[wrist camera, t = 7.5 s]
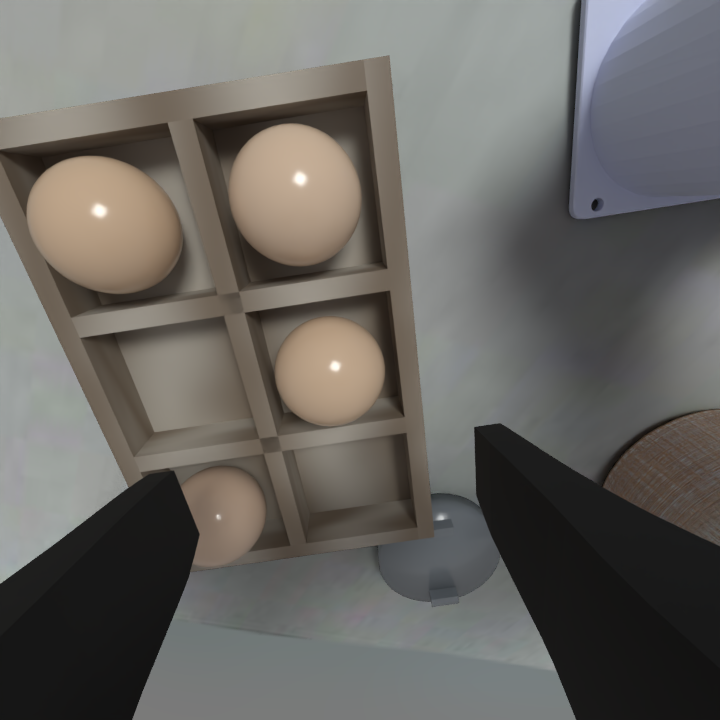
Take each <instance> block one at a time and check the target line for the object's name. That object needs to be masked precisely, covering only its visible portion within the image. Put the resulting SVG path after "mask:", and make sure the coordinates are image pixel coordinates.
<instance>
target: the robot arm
mask: <svg viewBox="0 0 720 720" xmlns="http://www.w3.org/2000/svg"><path fill="white" fill-rule="evenodd" d="M718 198H720V0H582V1H581V18H580V34H579V51H578V67H577V84H576V100H575V117H574V133H573V150H572V166H571V183H570V199H569V213H570V215H571V216H572V217H573V218H575V219H589V218H595V217H602V216H608V215H615V214H621V213H628V212H634V211H641V210H647V209H654V208H660V207H667V206H673V205H679V204H686V203H692V202H699V201H705V200H712V199H718ZM595 199H596V200H597V201H598V205H597V208H596V209H595V210H594V211H593V210H592V208H591V204H592V202H593V201H594V200H595ZM474 433H475V465H476V495H477V498H478V501H479V504H480V507H481V510H482V512H483V515H484V518H485V521H486V523H487V526H488V529H489V531H490V534H491V537H492V539H493V541H494V543H495V545H496V547H497V549H498V551H499V553H500V555H501V557H502V559H503V561H504V563H505V565H506V567H507V569H508V571H509V573H510V575H511V577H512V579H513V581H514V583H515V585H516V587H517V589H518V591H519V593H520V595H521V597H522V599H523V601H524V603H525V605H526V607H527V609H528V611H529V613H530V615H531V617H532V619H533V621H534V623H535V625H536V627H537V629H538V631H539V633H540V635H541V637H542V639H543V641H544V644H545V646H546V648H547V650H548V652H549V654H550V657H551V659H552V661H553V663H554V666H555V668H556V671H557V673H558V675H559V678H560V680H561V683H562V685H563V688H564V690H565V693H566V695H567V698H568V700H569V703H570V705H571V708H572V710H573V713H574V715H575V718H576V720H720V546H719V545H717V544H714V543H712V542H710V541H708V540H705V539H703V538H701V537H699V536H697V535H695V534H693V533H691V532H689V531H686V530H684V529H682V528H680V527H678V526H676V525H674V524H672V523H670V522H668V521H666V520H664V519H662V518H659V517H657V516H655V515H653V514H651V513H649V512H648V511H646V510H644V509H642V508H640V507H638V506H636V505H634V504H632V503H630V502H629V501H627V500H625V499H623V498H621V497H620V496H618V495H616V494H614V493H612V492H610V491H609V490H607V489H605V488H603V487H601V486H600V485H598V484H596V483H594V482H593V481H591V480H589V479H588V478H586V477H584V476H583V475H581V474H579V473H578V472H576V471H574V470H573V469H571V468H569V467H568V466H566V465H565V464H563V463H561V462H560V461H558V460H556V459H555V458H553V457H552V456H550V455H549V454H547V453H545V452H544V451H542V450H541V449H539V448H538V447H536V446H535V445H533V444H532V443H530V442H529V441H527V440H526V439H524V438H522V437H521V436H519V435H518V434H516V433H515V432H513V431H512V430H510V429H509V428H507V427H505V426H504V425H502V424H500V423H499V424H492V425H485V426H478V427H474ZM199 536H200V533H199V531H198V528H197V526H196V523H195V521H194V519H193V516H192V514H191V511H190V509H189V506H188V504H187V501H186V499H185V496H184V494H183V491H182V489H181V486H180V484H179V481H178V479H177V476H176V474H175V472H174V470H173V471H166V472H159V473H152V474H148V475H147V476H145V477H144V478H142V479H141V480H139V481H138V482H136V483H135V484H133V485H132V486H131V487H129V488H128V489H126V490H125V491H124V492H122V493H121V494H120V495H118V496H117V497H116V498H114V499H113V500H112V501H110V502H109V503H108V504H107V505H105V506H104V507H103V508H101V509H100V510H99V511H97V512H96V513H95V514H94V515H92V516H91V517H90V518H88V519H87V520H86V521H84V522H83V523H82V524H80V525H79V526H78V527H77V528H75V529H74V530H73V531H71V532H70V533H69V534H67V535H66V536H65V537H64V538H62V539H61V540H60V541H58V542H57V543H56V544H54V545H53V546H52V547H50V548H49V549H48V550H46V551H45V552H43V553H42V554H41V555H39V556H38V557H37V558H35V559H34V560H32V561H31V562H30V563H28V564H27V565H26V566H24V567H23V568H21V569H20V570H19V571H17V572H16V573H15V574H13V575H12V576H11V577H9V578H8V579H6V580H5V581H4V582H2V583H1V584H0V720H132V718H133V716H134V713H135V710H136V708H137V705H138V702H139V700H140V697H141V694H142V691H143V689H144V686H145V684H146V682H147V679H148V677H149V674H150V672H151V669H152V667H153V665H154V662H155V659H156V657H157V655H158V652H159V650H160V647H161V645H162V642H163V640H164V637H165V635H166V633H167V630H168V628H169V625H170V623H171V621H172V618H173V616H174V613H175V611H176V608H177V606H178V603H179V601H180V598H181V596H182V593H183V591H184V588H185V585H186V583H187V580H188V577H189V574H190V570H191V567H192V563H193V560H194V556H195V552H196V548H197V544H198V540H199Z"/></svg>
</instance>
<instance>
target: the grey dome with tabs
mask: <svg viewBox="0 0 720 720" xmlns="http://www.w3.org/2000/svg"><path fill="white" fill-rule="evenodd" d="M431 505H432V516H433V526H434V537H432V538H425V539H418V540H411V541H404V542H397V543H390V544H383V545H377V548H378V557H379V567H380V572H381V575H382V577H383V579H384V580H385V582H386V583H387V585H388V586H389V587H390V588H391V589H393V590H394V591H395V592H397V593H399V594H400V595H402V596H405V597H407V598H410V599H413V600H418V601H426V602H431V605H432V607H435V606H442V605H449V604H456V603H459V598H458V597H461V596H464V595H466V594H468V593H470V592H472V591H474V590H475V589H477V588H478V587H480V586H481V585H482V584H483V583H485V582H486V581H487V580H488V579H489V577H490V576H491V575H492V574H493V572H494V570H495V569H496V567H497V564H498V561H499V558H500V553H499V551H498V549H497V547H496V545H495V543H494V541H493V539H492V537H491V534H490V531H489V529H488V526H487V523H486V521H485V518H484V515H483V512H482V510H481V508H480V507H479V506H478V505H476V504H475V503H474V502H472V501H470V500H468V499H466V498H464V497H461V496H457V495H452V494H431Z"/></svg>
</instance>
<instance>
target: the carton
mask: <svg viewBox="0 0 720 720" xmlns="http://www.w3.org/2000/svg"><path fill="white" fill-rule="evenodd" d="M288 123H294V124H303V125H307V126H311V127H313V128H316V129H318V130H320V131H322V132H324V133H326V134H327V135H329V136H330V137H331V138H333V139H334V140H335V141H336V142H337V143H338V144H339V145H340V146H341V147H342V148H343V149H344V150H345V152H346V153H347V154H348V156H349V158H350V159H351V161H352V163H353V165H354V167H355V169H356V171H357V174H358V177H359V181H360V186H361V194H362V206H361V213H360V218H359V221H358V224H357V227H356V229H355V231H354V233H353V235H352V237H351V238H350V240H349V241H348V242H347V244H346V245H345V246H344V247H343V248H342V249H341V250H340V251H339V252H338V253H337V254H335V255H334V256H333V257H331V258H329V259H327V260H326V261H323V262H321V263H318V264H315V265H310V266H289V265H284V264H281V263H278V262H275V261H273V260H271V259H269V258H267V257H265V256H264V255H262V254H261V253H259V252H258V251H257V250H256V249H254V248H253V247H252V246H251V245H250V244H249V243H248V242H247V240H246V239H245V238H244V236H243V235H242V234H241V232H240V230H239V229H238V227H237V225H236V223H235V220H234V218H233V215H232V212H231V208H230V203H229V193H228V188H229V178H230V172H231V169H232V166H233V163H234V161H235V159H236V157H237V155H238V153H239V152H240V150H241V149H242V147H243V146H244V145H245V144H246V143H247V142H248V140H250V139H251V138H252V137H253V136H254V135H256V134H257V133H259V132H261V131H262V130H264V129H267V128H269V127H272V126H275V125H280V124H288ZM79 156H103V157H108V158H113V159H116V160H119V161H122V162H125V163H128V164H130V165H132V166H134V167H136V168H138V169H139V170H141V171H142V172H144V173H146V174H147V175H148V176H150V177H151V178H152V179H154V180H155V181H156V182H157V183H158V184H159V185H160V186H161V187H162V188H163V189H164V191H165V192H166V193H167V194H168V196H169V197H170V199H171V200H172V202H173V203H174V205H175V207H176V209H177V211H178V214H179V217H180V220H181V224H182V230H183V244H182V250H181V254H180V257H179V259H178V262H177V264H176V265H175V267H174V268H173V270H172V271H171V272H170V273H169V274H168V275H167V277H166V278H164V279H163V280H162V281H161V282H159V283H157V284H156V285H154V286H152V287H150V288H148V289H145V290H143V291H139V292H135V293H128V294H109V293H103V292H98V291H94V290H91V289H88V288H85V287H83V286H80V285H78V284H76V283H74V282H72V281H70V280H69V279H67V278H66V277H64V276H63V275H61V274H60V273H59V272H58V271H56V270H55V269H54V268H53V267H52V266H51V265H50V264H49V263H48V262H47V261H46V260H45V259H44V257H43V256H42V255H41V253H40V252H39V250H38V249H37V247H36V246H35V244H34V242H33V240H32V237H31V235H30V232H29V228H28V224H27V202H28V197H29V194H30V191H31V189H32V187H33V185H34V183H35V182H36V181H37V179H38V178H39V177H40V176H41V175H42V174H43V173H44V172H45V171H46V170H47V169H48V168H50V167H52V166H53V165H55V164H57V163H59V162H61V161H63V160H66V159H70V158H74V157H79ZM0 216H1V218H2V221H3V223H4V225H5V227H6V229H7V231H8V233H9V235H10V238H11V240H12V242H13V244H14V246H15V248H16V250H17V252H18V254H19V257H20V259H21V261H22V263H23V265H24V267H25V269H26V271H27V273H28V276H29V278H30V280H31V282H32V284H33V286H34V288H35V290H36V292H37V295H38V297H39V299H40V301H41V303H42V305H43V307H44V309H45V311H46V314H47V316H48V318H49V320H50V322H51V324H52V326H53V328H54V330H55V333H56V335H57V337H58V339H59V341H60V343H61V345H62V347H63V349H64V352H65V354H66V356H67V358H68V360H69V362H70V364H71V366H72V368H73V371H74V373H75V375H76V377H77V379H78V381H79V383H80V385H81V387H82V390H83V392H84V394H85V396H86V398H87V400H88V402H89V404H90V406H91V409H92V411H93V413H94V415H95V417H96V419H97V421H98V423H99V425H100V428H101V430H102V432H103V434H104V436H105V438H106V440H107V442H108V444H109V447H110V449H111V451H112V453H113V455H114V457H115V459H116V461H117V464H118V466H119V468H120V470H121V472H122V474H123V476H124V478H125V480H126V483H127V485H128V487H131V486H132V485H133V484H135V483H136V482H138V481H139V480H141V479H142V478H144V477H145V476H147V475H148V474H152V473H159V472H166V471H173V470H174V472H175V474H176V476H177V479H178V481H179V484H180V486H181V485H182V484H183V483H184V482H185V481H186V480H187V479H188V478H189V477H191V476H192V475H194V474H195V473H197V472H199V471H201V470H203V469H206V468H209V467H214V466H232V467H236V468H239V469H242V470H244V471H246V472H247V473H249V474H250V475H251V476H253V477H254V478H255V480H256V481H257V482H258V483H259V485H260V486H261V488H262V490H263V492H264V495H265V499H266V505H267V515H266V522H265V525H264V528H263V531H262V533H261V535H260V537H259V539H258V540H257V542H256V543H255V544H254V546H253V547H252V548H251V549H250V550H249V551H248V552H247V553H246V554H245V555H244V556H242V557H241V558H239V559H238V560H236V561H234V562H232V563H230V564H227V565H224V566H220V567H213V568H206V567H199V566H195V565H193V564H192V567H191V570H190V572H195V571H202V570H209V569H216V568H223V567H230V566H237V565H244V564H251V563H258V562H265V561H272V560H279V559H286V558H293V557H300V556H307V555H314V554H321V553H328V552H334V551H341V550H348V549H355V548H362V547H369V546H376V545H383V544H390V543H397V542H404V541H411V540H418V539H425V538H432V537H434V526H433V516H432V505H431V494H430V484H429V473H428V462H427V452H426V441H425V430H424V420H423V409H422V398H421V388H420V377H419V366H418V356H417V345H416V334H415V324H414V313H413V302H412V292H411V281H410V270H409V260H408V249H407V238H406V227H405V217H404V206H403V195H402V185H401V174H400V163H399V153H398V142H397V131H396V121H395V110H394V99H393V89H392V78H391V67H390V57H389V56H383V57H377V58H371V59H364V60H358V61H352V62H346V63H340V64H334V65H327V66H321V67H315V68H309V69H303V70H296V71H290V72H284V73H278V74H272V75H266V76H259V77H253V78H247V79H241V80H235V81H229V82H222V83H216V84H210V85H204V86H198V87H192V88H185V89H179V90H173V91H167V92H161V93H154V94H148V95H142V96H136V97H130V98H124V99H117V100H111V101H105V102H99V103H93V104H87V105H80V106H74V107H68V108H62V109H56V110H50V111H43V112H37V113H31V114H25V115H19V116H12V117H6V118H0ZM322 316H338V317H343V318H346V319H349V320H352V321H354V322H356V323H358V324H359V325H361V326H362V327H364V328H365V329H366V330H367V331H368V332H369V333H370V334H371V335H372V336H373V337H374V339H375V340H376V342H377V343H378V345H379V347H380V349H381V351H382V355H383V358H384V364H385V379H384V384H383V388H382V391H381V393H380V395H379V397H378V399H377V400H376V402H375V404H374V405H373V406H372V407H371V408H370V409H369V410H368V411H367V412H366V413H365V414H364V415H362V416H361V417H360V418H358V419H356V420H355V421H352V422H350V423H347V424H344V425H339V426H320V425H316V424H312V423H310V422H307V421H305V420H303V419H301V418H300V417H298V416H297V415H296V414H294V413H293V412H292V411H291V410H290V409H289V408H288V407H287V406H286V404H285V403H284V401H283V400H282V398H281V396H280V394H279V392H278V389H277V386H276V381H275V361H276V357H277V354H278V351H279V349H280V346H281V344H282V343H283V341H284V340H285V338H286V337H287V336H288V335H289V334H290V332H291V331H293V330H294V329H295V328H296V327H298V326H299V325H301V324H302V323H304V322H306V321H308V320H311V319H314V318H317V317H322Z"/></svg>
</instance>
